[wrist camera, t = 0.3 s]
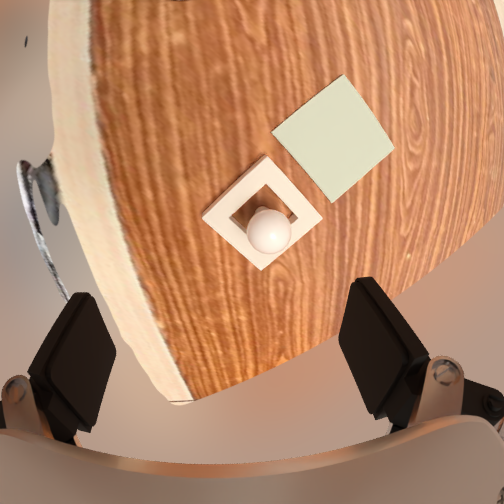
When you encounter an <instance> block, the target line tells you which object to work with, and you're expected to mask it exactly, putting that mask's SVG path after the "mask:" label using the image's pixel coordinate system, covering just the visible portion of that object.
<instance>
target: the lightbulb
mask: <svg viewBox="0 0 504 504" xmlns="http://www.w3.org/2000/svg"><path fill="white" fill-rule="evenodd" d="M291 235H292V229H291V224H290V222H289V220H288V219H287V217H286V216H285V215H284V214H282V213H281V212H279V211H277V210H273V209H269V208H267V207H265V206H261V207H258V208H257V209H256V211H255V215H254V216H253V217H252V218H251V219H250V221H249V223H248V226H247V237H248V240H249V242H250V244H251V245H252V247H253V248H254V249H256V250H257V251H259V252H261V253H264V254H275V253H278V252H280V251H282V250H283V249H284V248H285V247H286V246H287V245H288V243H289V242H290V239H291Z"/></svg>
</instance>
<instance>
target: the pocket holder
mask: <svg viewBox="0 0 504 504" xmlns="http://www.w3.org/2000/svg"><path fill="white" fill-rule="evenodd" d="M265 184H267V185H268V186H269V187H270V188H271V189H272V190H273V191H274V192H275V193H276V194H277V195H278V197H279V198H280V199H281V200H282V201H283V202H284V203H285V204H286V205H287V206H288V207H289V208H290V209H291V210H292V212H293V213H294V214H293V215H292V216H291V217H290V218H288V220H289V222H290V224H291V229H292V235H291V239H290V242H289V243H288V245H287V246H286V247H285V248H284V249H283V250H282V251H280V252H278V253H275V254H264V253H261V252H259V251H257V250H256V249H254V248H253V247H252V245H251V244H250V242H249V240H248V237H247V230H246V229H245V228H244V227H243V226H242V225H241V224H240V223H239V222H238V221H237V220H236V219H235V218H234V217H233V216H231V215H232V214H233V213H234V212H235V211H237V210H238V209H239V208H240V207H241V206H242V205H243V204H244V203H245V202H246V201H247V200H248V199H250V198H251V197H252V196H253V195H254V194H255V193H256V192H257V191H258V190H259V189H261V188H262V187H263V186H264V185H265ZM202 219H203V220H204V221H205V222H206V223H207V224H208V225H210V226H211V227H212V228H213V229H214V230H215V231H216V232H218V233H219V234H220V235H221V236H222V237H223V238H224V239H225V240H227V241H228V242H229V243H230V244H231V245H232V246H233V247H235V248H236V249H237V250H238V251H239V252H240V253H241V254H243V255H244V256H245V257H246V258H247V259H248V260H249V261H250V262H252V263H253V264H254V265H255V266H256V267H257V268H258V269H260V270H262V269H264V268H265V267H266V266H267V265H269V264H270V263H271V262H272V261H273V260H275V259H276V258H277V257H278V256H279V255H281V254H282V253H283V252H284V251H285V250H286V249H288V248H289V247H290V246H291V245H292V244H294V243H295V242H296V241H297V240H298V239H300V238H301V237H302V236H303V235H304V234H305V233H307V232H308V231H309V230H310V229H311V228H313V227H314V226H315V225H316V224H317V223H318V222H320V221H321V220H322V219H323V218H322V217H321V216H320V215H319V213H318V212H317V211H316V210H315V209H314V208H313V206H312V205H311V204H310V203H309V202H308V201H307V199H306V198H305V197H304V196H303V195H302V194H301V193H300V191H299V190H298V189H297V188H296V187H295V186H294V185H293V183H292V182H291V181H290V180H289V179H288V178H287V177H286V176H285V175H284V174H283V172H282V171H281V170H280V169H279V168H278V167H277V166H276V165H275V164H274V163H273V162H272V161H271V159H270V158H269V157H268V156H267V155H266V154H265V155H263V156H262V157H261V158H260V159H259V160H258V161H257V162H256V163H255V164H253V165H252V166H251V167H250V168H249V169H248V170H247V171H246V172H245V173H244V174H243V175H242V176H240V177H239V178H238V179H237V180H236V181H235V182H234V183H233V184H232V185H231V186H230V187H229V188H228V189H227V190H226V191H225V192H224V193H222V194H221V195H220V196H219V197H218V198H217V199H216V200H215V201H214V202H213V203H212V204H211V205H210V206H209V207H208V208H207V209H206V210H205V211H204V212H203V214H202Z"/></svg>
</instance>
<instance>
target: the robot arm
mask: <svg viewBox="0 0 504 504" xmlns="http://www.w3.org/2000/svg"><path fill="white" fill-rule="evenodd" d="M178 1H182V0H178ZM339 345H340V347H341V349H342V352H343V354H344V356H345V358H346V361H347V363H348V365H349V368H350V370H351V372H352V374H353V377H354V379H355V382H356V384H357V386H358V388H359V391H360V393H361V396H362V398H363V401H364V403H365V405H366V408H367V410H368V412H369V413H370V414H373V415H374V418H375V420H378V419H381V418H384V417H388V419H389V421H390V424H389V427H388V430H387V432H386V435H385V436H383V437H380V438H376V439H373V440H370V441H366V442H363V443H359V444H356V445H352V446H348V447H345V448H341V449H337V450H332V451H328V452H323V453H319V454H314V455H309V456H303V457H297V458H290V459H284V460H276V461H266V462H257V463H243V464H182V463H168V462H157V461H148V460H140V459H134V458H128V457H122V456H116V455H110V454H106V453H101V452H97V451H93V450H89V449H85V448H83V447H82V445H81V443H80V441H79V439H78V437H77V435H76V432H77V429H78V430H80V431H84V432H88V433H90V432H91V429H92V426H94V425H95V424H96V421H97V417H98V413H99V410H100V406H101V402H102V399H103V395H104V392H105V389H106V385H107V382H108V379H109V375H110V372H111V369H112V366H113V363H114V360H115V357H116V348H115V345H114V343H113V341H112V339H111V337H110V334H109V332H108V330H107V328H106V325H105V323H104V321H103V318H102V316H101V313H100V311H99V309H98V306H97V304H96V301H95V299H94V297H92V296H91V295H90V294H89V293H87V292H83V293H82V292H77V293H74V294H73V295H72V297H71V298H70V300H69V301H68V303H67V304H66V306H65V307H64V309H63V310H62V312H61V313H60V315H59V317H58V318H57V320H56V321H55V323H54V325H53V326H52V328H51V330H50V331H49V333H48V335H47V336H46V338H45V340H44V341H43V343H42V345H41V347H40V349H39V350H38V352H37V354H36V356H35V358H34V360H33V362H32V364H31V365H30V367H29V369H28V371H27V372H28V373H29V375H30V376H31V377H30V379H27V377H25V376H23V375H16V376H13V377H11V378H10V379H9V380H8V381H7V382H6V383H5V385H4V386H3V389H2V393H1V398H2V400H1V401H0V504H504V396H503V395H502V393H501V392H499V391H498V390H496V389H494V388H491V387H488V386H485V385H482V384H479V383H476V382H473V381H470V380H467V379H465V378H464V371H463V369H462V367H461V366H460V364H459V363H458V362H457V361H456V360H454V359H453V358H450V357H448V356H437V357H435V358H433V359H432V360H431V359H430V358H429V356H428V355H429V353H428V351H427V350H426V348H425V347H424V346H423V344H422V343H421V341H420V340H419V338H418V337H417V336H416V334H415V333H414V331H413V330H412V329H411V327H410V326H409V324H408V323H407V322H406V320H405V319H404V318H403V316H402V315H401V313H400V312H399V311H398V309H397V308H396V307H395V305H394V304H393V303H392V301H391V300H390V299H389V297H388V296H387V295H386V294H385V292H384V291H383V290H382V288H381V287H380V286H379V285H378V283H377V282H376V281H375V280H374V278H372V277H362V278H357V279H356V280H355V282H353V283H352V284H351V286H350V290H349V295H348V300H347V304H346V308H345V313H344V317H343V321H342V325H341V329H340V333H339Z"/></svg>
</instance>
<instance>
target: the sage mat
mask: <svg viewBox="0 0 504 504" xmlns="http://www.w3.org/2000/svg"><path fill="white" fill-rule="evenodd" d="M271 133H272V134H273V135H274V136H275V137H276V139H277V140H278V141H279V142H280V143H281V144H282V145H283V146H284V147H285V148H286V150H287V151H288V152H289V153H290V154H291V155H292V156H293V157H294V159H295V160H296V161H297V162H298V163H299V164H300V165H301V167H302V168H303V169H304V170H305V171H306V172H307V174H308V175H309V176H310V177H311V178H312V180H313V181H314V182H315V183H316V184H317V186H318V187H319V188H320V189H321V191H322V192H323V193H324V194H325V195H326V197H327V198H328V199H329V201H330V202H331V203H333V202H334V201H335V200H336V199H338V198H339V197H340V196H341V195H342V194H343V193H344V192H346V191H347V190H348V189H349V188H350V187H351V186H353V185H354V184H355V183H356V182H357V181H358V180H359V179H361V178H362V177H363V176H364V175H365V174H366V173H367V172H369V171H370V170H371V169H372V168H373V167H374V166H375V165H377V164H378V163H379V162H380V161H381V160H382V159H383V158H384V157H386V156H387V155H388V154H389V153H390V152H391V151H392V150H393V149H395V148H394V146H393V144H392V143H391V141H390V139H389V138H388V136H387V134H386V133H385V131H384V130H383V128H382V127H381V125H380V123H379V122H378V120H377V119H376V117H375V116H374V114H373V113H372V111H371V110H370V109H369V107H368V106H367V104H366V103H365V101H364V100H363V99H362V97H361V96H360V95H359V93H358V92H357V91H356V89H355V88H354V87H353V85H352V84H351V83H350V81H349V80H348V79H347V78H346V76H345V75H344V74H343V75H341V76H340V77H339V78H337V79H336V80H335V81H333V82H332V83H331V84H329V85H328V86H327V87H325V88H324V89H323V90H322V91H320V92H319V93H318V94H316V95H315V96H314V97H313V98H311V99H310V100H309V101H308V102H306V103H305V104H304V105H303V106H301V107H300V108H299V109H298V110H297V111H295V112H294V113H293V114H292V115H291V116H289V117H288V118H287V119H286V120H285V121H283V122H282V123H281V124H280V125H279V126H278V127H276V128H275V129H274V130H273V131H272V132H271Z"/></svg>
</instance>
